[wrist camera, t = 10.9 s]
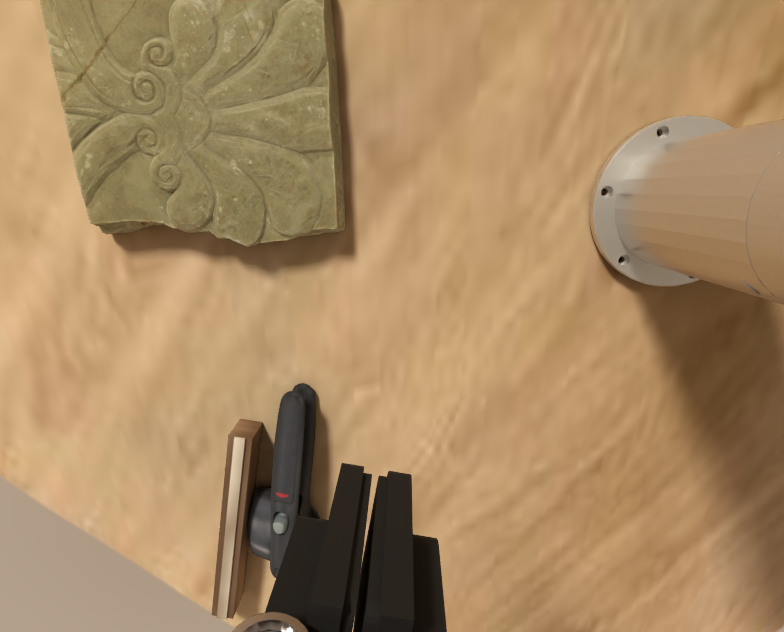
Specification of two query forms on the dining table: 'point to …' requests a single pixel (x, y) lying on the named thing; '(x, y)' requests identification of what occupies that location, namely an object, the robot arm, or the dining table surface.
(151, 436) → the dining table surface
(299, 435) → the can opener
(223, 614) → the walnut rail
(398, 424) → the dining table surface
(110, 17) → the decorative tile
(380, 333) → the dining table surface
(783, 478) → the dining table surface
